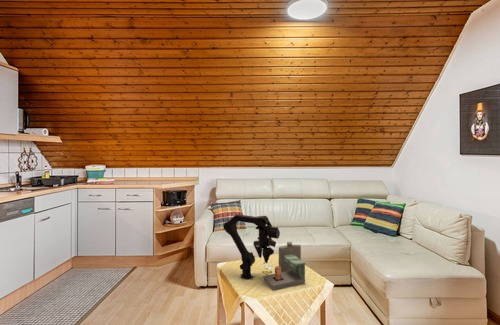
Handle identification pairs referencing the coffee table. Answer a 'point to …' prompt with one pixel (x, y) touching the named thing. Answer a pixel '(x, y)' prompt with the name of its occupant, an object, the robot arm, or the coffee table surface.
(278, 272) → the peg
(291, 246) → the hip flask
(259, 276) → the coffee table surface
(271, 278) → the socket deck
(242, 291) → the coffee table surface
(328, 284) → the coffee table surface
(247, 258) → the robot arm
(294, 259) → the awning
